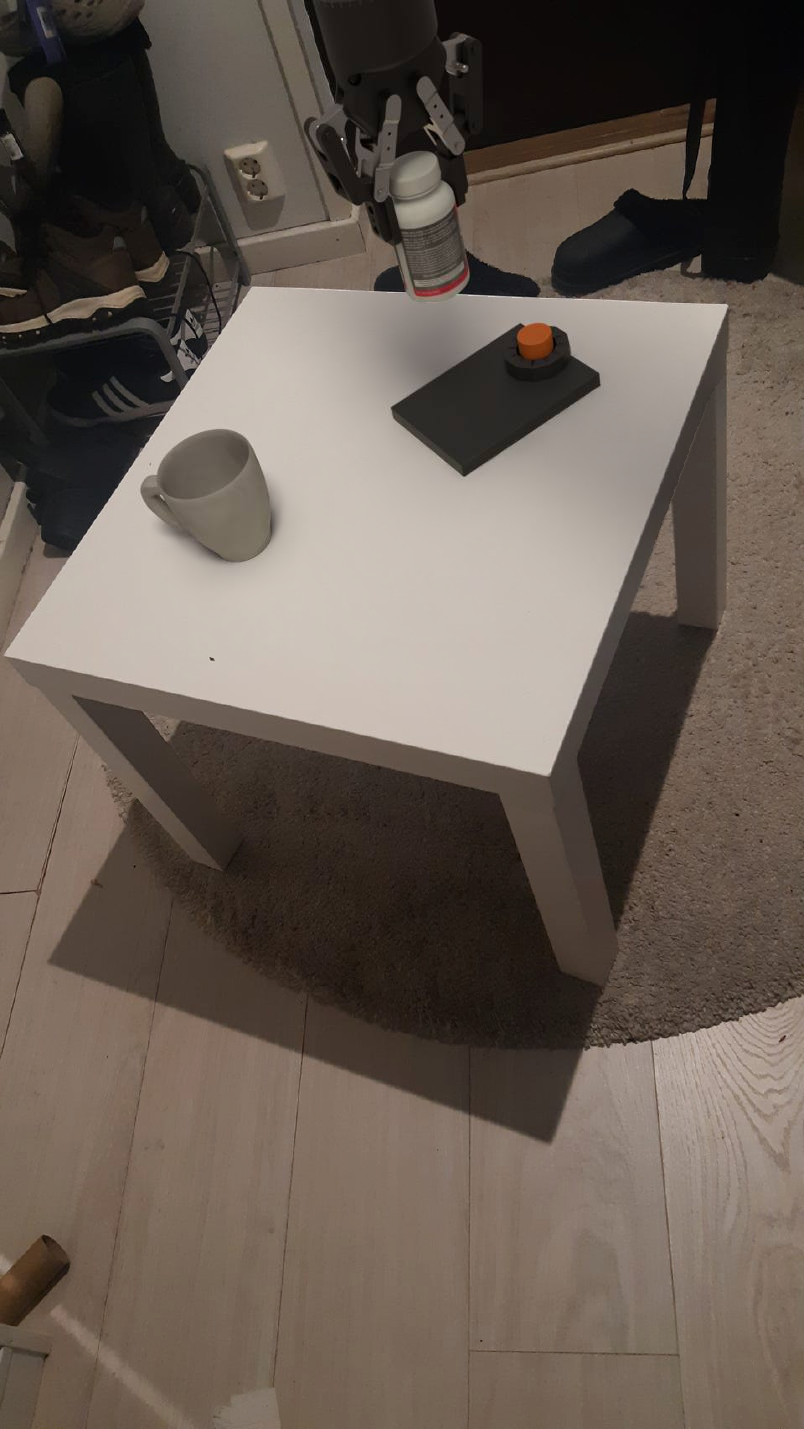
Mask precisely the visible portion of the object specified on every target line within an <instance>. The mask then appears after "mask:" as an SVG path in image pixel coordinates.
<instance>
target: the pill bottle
mask: <svg viewBox="0 0 804 1429" xmlns="http://www.w3.org/2000/svg"><path fill="white" fill-rule="evenodd" d="M388 194H389V196H391V197H392V200H393V204H394V208H395V212H396V216H397V220H398V223H399V227H400V231H401V235H402V242H401V243H400V244H398V245H396V246H395V247H393V249H394V253H395V256H396V261H397V264H398V268H399V272H400V276H401V280H402V283H403V286H404V291H405V292H406V295H407V297H409V298H410V299H411V300H413V301H415V302H417V303H422V304H435V303H440V302H443V301H447V300H450V299H452V298H454V297H455V296H457V295H458V294H459V293H461V292H462V291H463V290H464V289H465V288H466V286H467V285H468V282H469V280H470V275H471V274H470V268H469V262H468V257H467V252H466V247H465V246H466V245H465V242H464V237H463V232H462V228H461V221H460V217H459V211H458V208H457V207H456V202H455V197H454V193H453V190H452V188H451V187H450V186H449V185H448V184H447V183H446V182H444V181H442V180H441V170H440V167H439V163H438V159H437V157H436V156H435V154H434V152H431V151H428V150H416V151H410V152H408V153H405V154H403V155H401V156H398V157H397V158H395V163H394V165H393V166H391V168H390V179H389V192H388Z"/></svg>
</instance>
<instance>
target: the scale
mask: <svg viewBox="0 0 804 1429" xmlns="http://www.w3.org/2000/svg"><path fill="white" fill-rule="evenodd" d="M525 326H526V325H525V324H524V323H522V322H519V323H518V324H516V325H515V326H513V327H512V328H510V329H509V330H507V331H506V332H504V333H502V334H501V335H500V336H498V337H496V338H495V339H493V340H492V341H490V342H489V343H487V344H486V345H484V346H483V347H481V348H480V349H478V350H476V351H475V352H473V353H472V354H470V355H468V356H467V357H466V358H464V359H463V360H461V361H459V362H458V363H456V364H455V365H453V366H452V367H450V368H448V369H447V370H446V371H444V372H443V373H441V374H440V375H437V377H435V378H433V379H432V380H430V381H428V382H427V383H426V384H424V385H423V386H421V387H420V388H418V389H416V390H415V391H413V392H411V393H410V394H409V395H407V396H405V397H403V399H401V400H400V401H398V402H396V403H395V404H394V405H392V406H390V410H391V415H392V418H393V419H394V420H395V421H396V422H398V424H400V425H402V427H403V428H405V430H407V431H408V432H410V434H412V435H413V436H414V437H415V438H417V439H418V440H419V441H420V442H422V444H424V445H425V446H426V447H427V448H429V449H430V450H431V451H432V452H434V453H435V454H436V455H438V457H440V459H442V460H443V461H444V462H446V463H447V464H449V466H451V468H453V469H454V470H455V471H457V472H458V473H459V474H460V475H462V476H463V477H466V476H467V475H469V474H471V473H472V472H474V471H475V470H477V469H478V468H480V467H481V466H483V465H484V464H485V463H487V462H488V461H490V460H491V459H493V458H494V457H496V456H497V455H499V454H500V453H501V452H503V451H505V450H506V449H508V448H509V447H511V446H512V445H514V444H516V443H517V442H518V441H520V440H521V439H523V438H524V437H525V436H527V435H529V434H530V433H532V432H533V431H534V430H536V429H538V428H539V427H540V426H542V425H543V424H545V423H546V422H548V421H549V420H551V419H553V418H554V417H555V416H557V415H558V414H560V413H561V412H563V411H564V410H566V409H567V408H569V407H570V406H572V405H573V404H574V403H576V402H578V401H579V400H581V399H582V398H584V397H585V396H586V395H588V394H590V393H591V392H592V391H594V390H596V389H597V388H598V387H600V386H601V374H600V372H598V371H597V370H596V369H594V368H592V367H590V366H589V365H587V364H586V363H585V362H583V361H581V360H580V359H579V358H577V357H575V356H574V355H572V353H571V352H572V351H571V344H570V343H571V342H570V340H569V336H568V333H567V332H566V331H564V330H563V329H561V328H559V327H558V326H555V325H548V326H549V327H550V328H551V331H552V339H553V350H552V352H551V353H550V354H548V355H547V356H545V357H543V358H538V359H534V360H531V359H524V358H523V357H522V356H521V355H520V352H519V346H518V340H517V335H518V332H519V331H520V330H521V329H522V328H523V327H525Z"/></svg>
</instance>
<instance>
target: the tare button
mask: <svg viewBox="0 0 804 1429" xmlns="http://www.w3.org/2000/svg"><path fill="white" fill-rule="evenodd" d="M549 326H550V325H548V324H547V323H544V322H533V323H529V324H527V325H525V327H523V328H522V329H521V330H520V331H519V332H518V335H517V340H518V346H519V352H520V355H521V356H522V357H523V358H524V359H531V360H534V359H538V358H543V357H545V356H547V355H548V354H550V353H551V352H552V350H553V339H552V331H551V328H550V327H549Z"/></svg>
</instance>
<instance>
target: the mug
mask: <svg viewBox="0 0 804 1429" xmlns="http://www.w3.org/2000/svg"><path fill="white" fill-rule="evenodd" d="M139 491H140V495H141V498H142V500H143V502H144V504H145V505H146V506H147V508H148V510H150V511H151V512H152V513H153V514H154V515H155V516H156V517H158V519H160V520H161V521H162V522H164V523H165V524H166V525H168V526H170V527H172V528H174V529H179V530H185V531H187V532H188V533H189V534H190V535H191V536H192V537H193V538H194V539H195V540H196V541H198V542H199V543H200V544H202V545H203V546H204V547H206V548H207V549H209V550H211V551H212V552H214V553H216V554H217V555H219V557H221V558H222V559H223V560H225V561H228V562H231V563H240V562H245V561H249V560H251V559H254V557H257V556H258V555H259V554H261V553H262V552H263V551H264V550H265V549H266V548H267V546H268V545H269V542H270V540H271V536H272V530H271V519H272V518H271V515H272V510H271V509H272V508H271V497H270V493H269V489H268V484H267V480H266V478H265V475H264V471H263V469H262V466H261V464H260V461H259V459H258V457H257V454H256V452H255V450H254V447H253V446H252V445H251V443H250V441H249V440H248V439H247V438H246V437H245V436H244V435H243V434H241V433H239V432H238V431H235V430H232V429H227V428H214V429H208V430H203V431H200V432H197V433H194V434H193V435H190V436H188V437H186V438H184V439H183V440H181V441H179V442H178V443H177V444H175V445H174V446H173V447H172V448H171V449H170V450H169V451H168V452H167V453H166V454H165V456H164V457H163V458H162V460H161V461H160V462H159V465H158V468H157V473H156V474H151V475H147V476H146V477H145V478H144V479H143V481H142V483H141V485H140V490H139Z"/></svg>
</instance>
